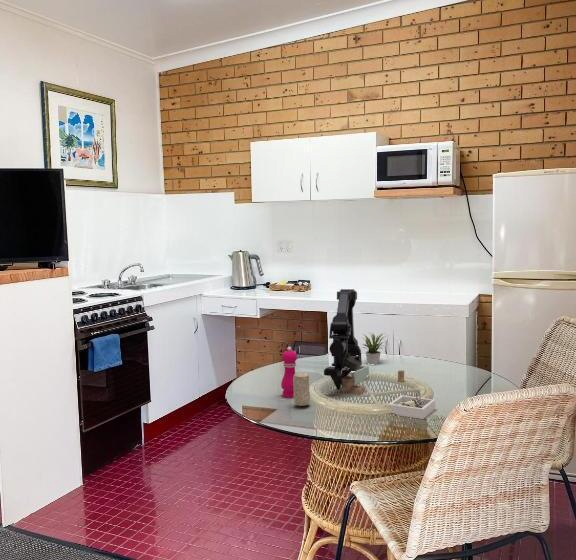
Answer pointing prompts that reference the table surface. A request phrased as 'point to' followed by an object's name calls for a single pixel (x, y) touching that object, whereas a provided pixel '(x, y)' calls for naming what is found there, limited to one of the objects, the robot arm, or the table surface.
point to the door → (360, 374)
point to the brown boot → (351, 386)
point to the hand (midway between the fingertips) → (341, 388)
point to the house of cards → (418, 401)
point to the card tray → (412, 411)
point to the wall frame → (400, 374)
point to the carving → (301, 389)
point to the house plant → (373, 349)
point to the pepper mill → (288, 372)
